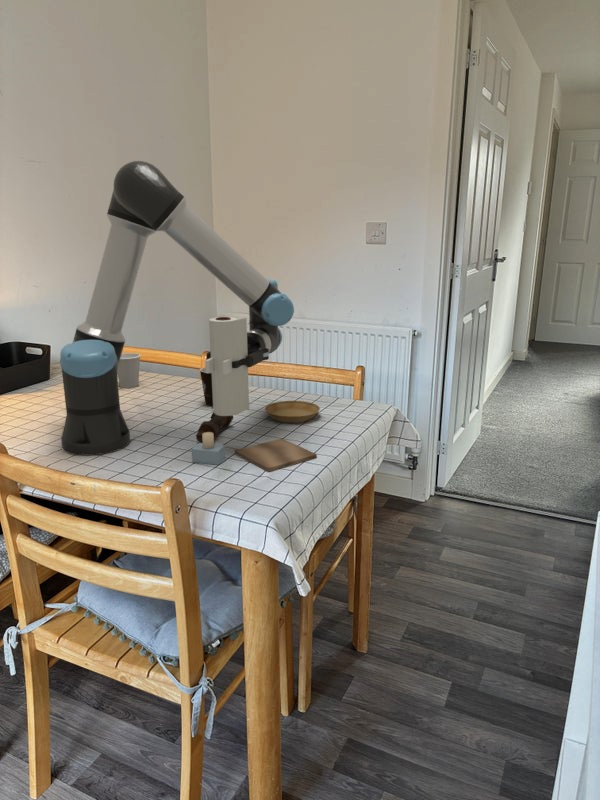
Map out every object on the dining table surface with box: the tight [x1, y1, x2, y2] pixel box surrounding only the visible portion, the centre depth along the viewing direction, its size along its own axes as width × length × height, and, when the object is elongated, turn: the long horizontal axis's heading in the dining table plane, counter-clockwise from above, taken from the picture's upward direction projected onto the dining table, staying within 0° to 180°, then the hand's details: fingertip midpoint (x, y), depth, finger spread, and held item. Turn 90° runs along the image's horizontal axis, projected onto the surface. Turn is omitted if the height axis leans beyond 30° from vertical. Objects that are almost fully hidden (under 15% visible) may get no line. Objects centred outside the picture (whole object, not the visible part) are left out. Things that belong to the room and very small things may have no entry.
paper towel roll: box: [208, 316, 250, 416], centre depth 129 cm, size 7×6×21 cm
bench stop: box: [191, 432, 226, 466], centre depth 126 cm, size 4×6×6 cm, turn 75°
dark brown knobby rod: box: [195, 412, 234, 443], centre depth 142 cm, size 6×5×15 cm
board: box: [234, 438, 318, 473], centre depth 130 cm, size 13×13×1 cm
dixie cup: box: [117, 352, 141, 389], centre depth 186 cm, size 8×8×10 cm
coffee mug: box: [199, 367, 213, 408], centre depth 169 cm, size 12×9×10 cm
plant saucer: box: [264, 400, 321, 424], centre depth 157 cm, size 15×15×3 cm
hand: (215, 367), depth 124 cm, fingers closed on paper towel roll, 3 cm apart
